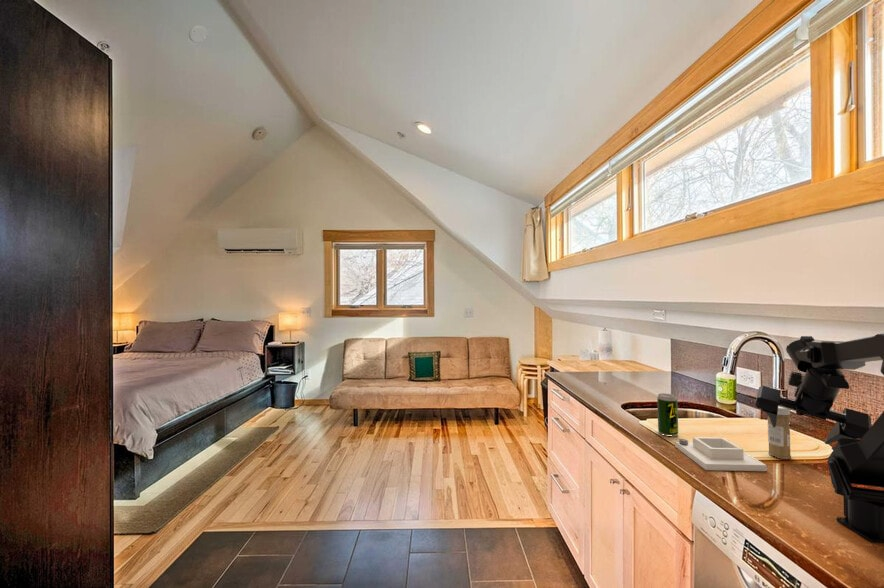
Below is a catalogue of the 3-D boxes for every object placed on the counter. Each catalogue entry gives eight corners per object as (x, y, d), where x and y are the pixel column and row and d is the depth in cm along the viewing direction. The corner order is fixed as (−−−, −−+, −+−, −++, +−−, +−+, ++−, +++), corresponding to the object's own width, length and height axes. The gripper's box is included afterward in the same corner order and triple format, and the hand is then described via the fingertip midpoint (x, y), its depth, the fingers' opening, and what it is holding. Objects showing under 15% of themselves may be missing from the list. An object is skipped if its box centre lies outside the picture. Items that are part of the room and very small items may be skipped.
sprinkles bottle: (796, 459, 96) (794, 407, 96) (779, 460, 96) (778, 408, 96) (779, 452, 100) (777, 402, 101) (763, 452, 100) (761, 403, 100)
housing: (766, 471, 90) (766, 454, 90) (705, 470, 91) (705, 453, 91) (727, 447, 104) (727, 433, 104) (675, 446, 105) (675, 432, 105)
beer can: (654, 432, 116) (653, 394, 116) (664, 429, 119) (663, 392, 119) (671, 438, 111) (670, 398, 111) (682, 435, 114) (681, 396, 114)
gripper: (879, 379, 80) (854, 426, 88) (767, 353, 92) (753, 397, 100) (884, 414, 74) (855, 462, 81) (762, 382, 85) (748, 426, 93)
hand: (799, 433), depth 89 cm, fingers open, 9 cm apart
